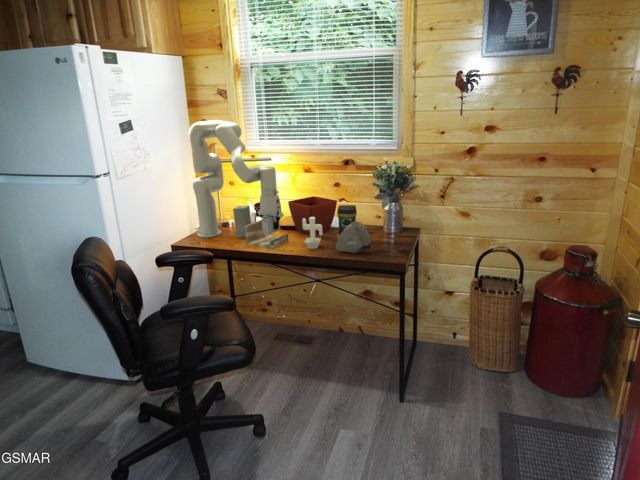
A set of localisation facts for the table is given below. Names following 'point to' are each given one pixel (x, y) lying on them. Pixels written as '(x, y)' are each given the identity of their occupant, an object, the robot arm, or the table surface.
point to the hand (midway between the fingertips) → (271, 228)
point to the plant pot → (313, 212)
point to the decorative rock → (354, 238)
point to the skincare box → (241, 219)
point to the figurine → (312, 233)
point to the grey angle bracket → (262, 236)
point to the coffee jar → (346, 216)
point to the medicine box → (269, 224)
